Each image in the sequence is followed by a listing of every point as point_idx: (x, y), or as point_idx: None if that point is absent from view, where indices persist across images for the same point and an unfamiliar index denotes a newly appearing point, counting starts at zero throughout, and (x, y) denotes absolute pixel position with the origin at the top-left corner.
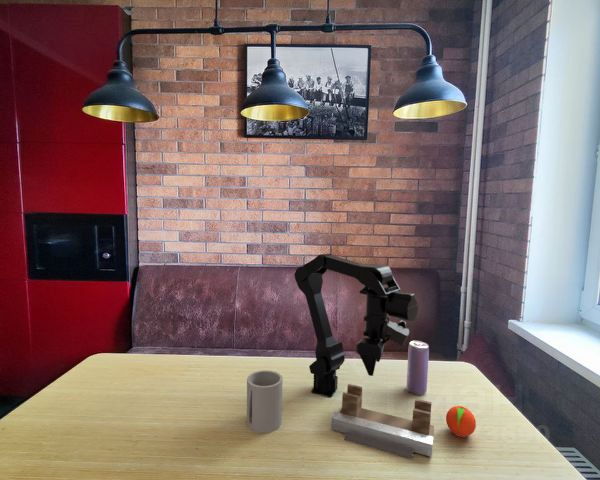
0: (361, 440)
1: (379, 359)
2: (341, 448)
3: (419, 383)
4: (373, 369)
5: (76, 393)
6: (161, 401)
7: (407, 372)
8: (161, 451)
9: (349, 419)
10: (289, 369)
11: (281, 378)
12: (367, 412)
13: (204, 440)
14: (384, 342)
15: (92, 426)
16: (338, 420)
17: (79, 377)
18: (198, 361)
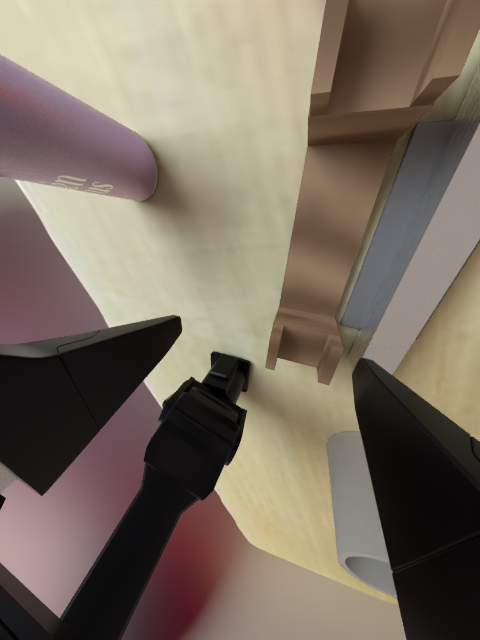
0: None
1: (171, 321)
2: (456, 341)
3: (125, 141)
4: (418, 400)
5: (328, 566)
6: (326, 526)
7: (102, 191)
8: None
9: (393, 345)
10: None
11: (386, 560)
12: (294, 292)
13: None
14: (19, 365)
15: None
16: (394, 367)
17: (298, 560)
18: (226, 491)
